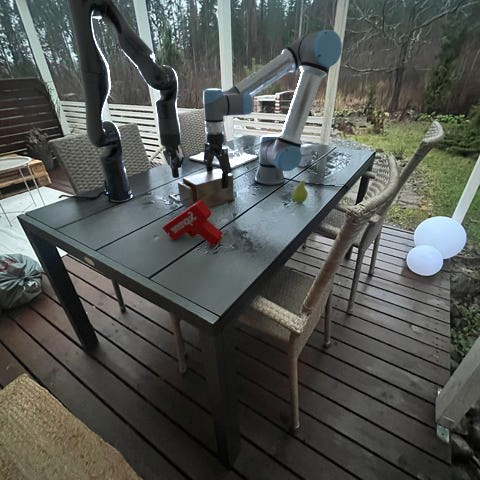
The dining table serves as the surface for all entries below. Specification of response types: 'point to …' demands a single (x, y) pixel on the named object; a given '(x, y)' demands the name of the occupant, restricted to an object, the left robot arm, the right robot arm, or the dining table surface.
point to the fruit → (300, 192)
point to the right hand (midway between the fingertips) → (217, 184)
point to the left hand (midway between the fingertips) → (176, 177)
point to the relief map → (234, 157)
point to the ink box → (306, 154)
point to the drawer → (185, 194)
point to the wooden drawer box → (211, 187)
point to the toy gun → (194, 224)
